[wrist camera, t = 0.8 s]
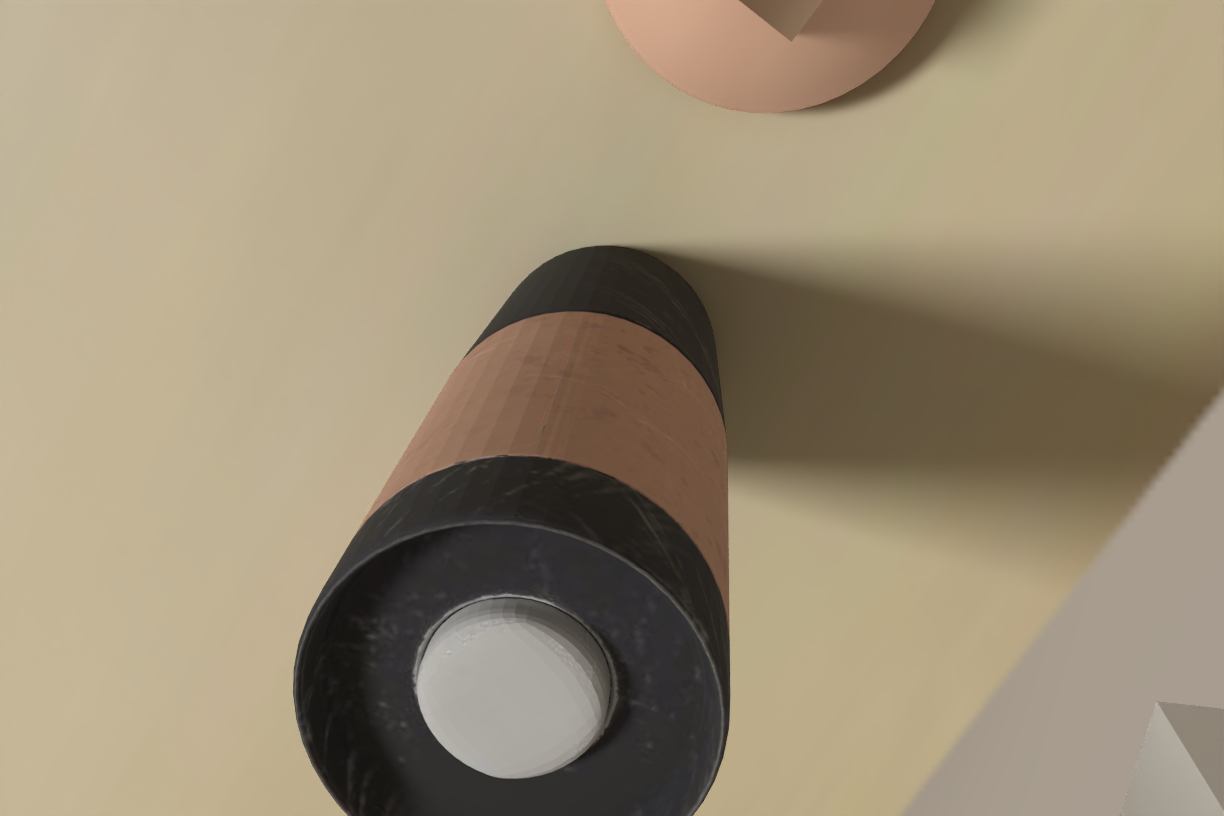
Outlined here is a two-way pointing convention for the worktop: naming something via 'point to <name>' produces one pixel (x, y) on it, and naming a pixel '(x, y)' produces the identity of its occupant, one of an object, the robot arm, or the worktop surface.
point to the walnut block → (784, 14)
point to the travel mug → (541, 571)
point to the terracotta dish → (766, 48)
